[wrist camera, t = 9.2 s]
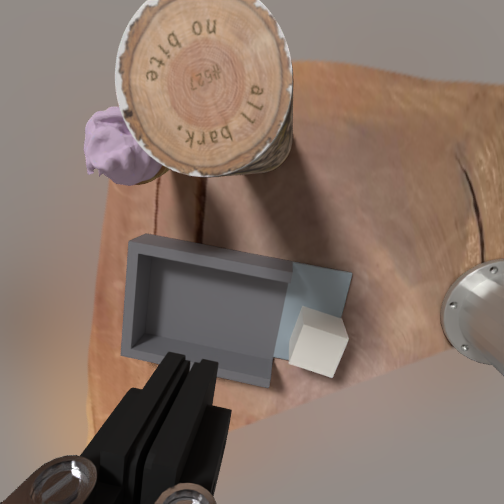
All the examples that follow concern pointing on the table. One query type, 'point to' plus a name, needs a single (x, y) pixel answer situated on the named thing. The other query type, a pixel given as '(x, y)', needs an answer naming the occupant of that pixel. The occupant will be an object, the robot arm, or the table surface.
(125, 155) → the ice cream cone
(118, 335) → the table surface
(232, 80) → the paper tube
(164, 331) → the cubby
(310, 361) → the cream block
